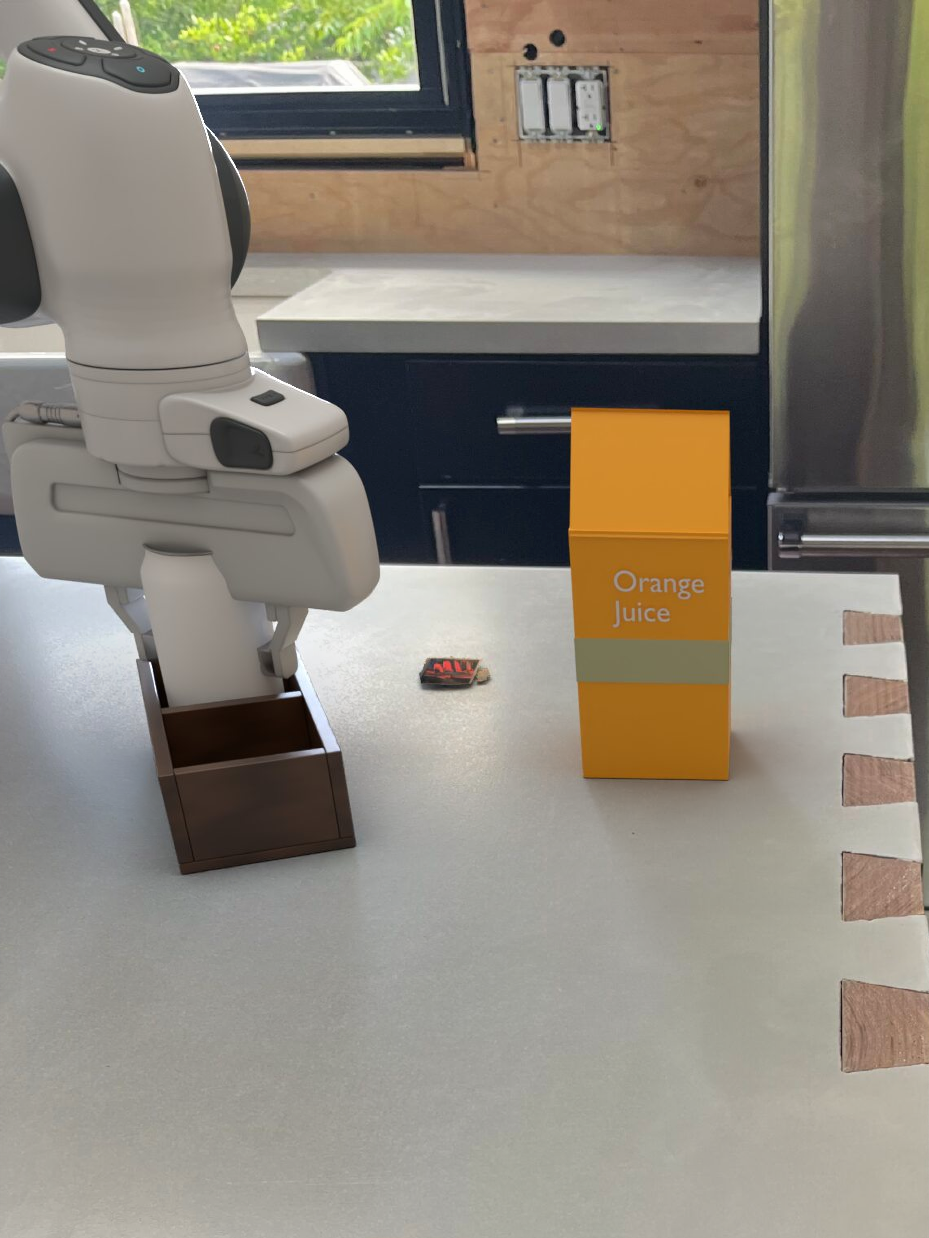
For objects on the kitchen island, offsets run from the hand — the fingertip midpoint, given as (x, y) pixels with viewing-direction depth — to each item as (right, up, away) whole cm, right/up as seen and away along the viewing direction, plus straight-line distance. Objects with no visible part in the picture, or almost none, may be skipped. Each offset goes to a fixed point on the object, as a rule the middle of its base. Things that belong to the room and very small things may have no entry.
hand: (220, 667), depth 86 cm
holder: (+2, -7, 0) cm, 7 cm away
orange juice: (+25, -4, +6) cm, 26 cm away
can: (0, -4, +3) cm, 5 cm away
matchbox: (+10, +3, +16) cm, 19 cm away
